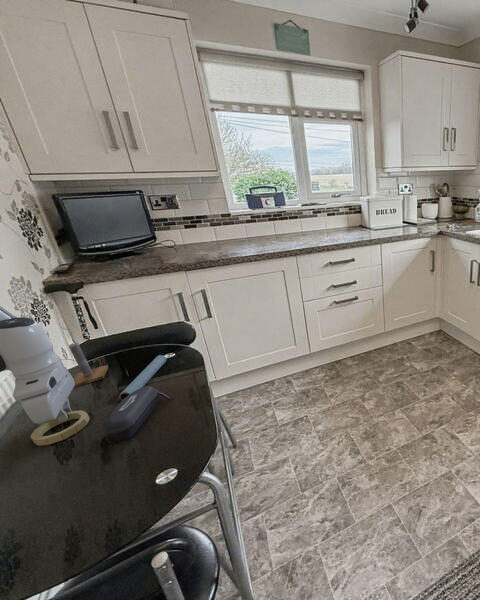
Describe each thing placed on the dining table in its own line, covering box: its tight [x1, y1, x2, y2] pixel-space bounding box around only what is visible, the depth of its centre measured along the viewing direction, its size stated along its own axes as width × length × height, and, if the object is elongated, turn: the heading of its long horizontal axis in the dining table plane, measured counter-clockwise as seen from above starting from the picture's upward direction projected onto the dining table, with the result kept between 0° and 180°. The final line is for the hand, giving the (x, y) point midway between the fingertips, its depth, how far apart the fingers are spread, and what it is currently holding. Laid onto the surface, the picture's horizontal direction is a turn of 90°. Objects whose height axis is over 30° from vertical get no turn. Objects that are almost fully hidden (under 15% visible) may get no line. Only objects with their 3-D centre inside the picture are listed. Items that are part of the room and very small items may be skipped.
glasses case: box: [103, 385, 171, 442], centre depth 89 cm, size 18×10×8 cm, turn 13°
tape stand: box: [68, 342, 109, 388], centre depth 111 cm, size 9×9×14 cm
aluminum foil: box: [118, 354, 167, 401], centre depth 108 cm, size 23×7×3 cm, turn 11°
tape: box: [29, 409, 90, 446], centre depth 88 cm, size 11×11×2 cm
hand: (66, 416), depth 92 cm, fingers closed on tape, 1 cm apart
